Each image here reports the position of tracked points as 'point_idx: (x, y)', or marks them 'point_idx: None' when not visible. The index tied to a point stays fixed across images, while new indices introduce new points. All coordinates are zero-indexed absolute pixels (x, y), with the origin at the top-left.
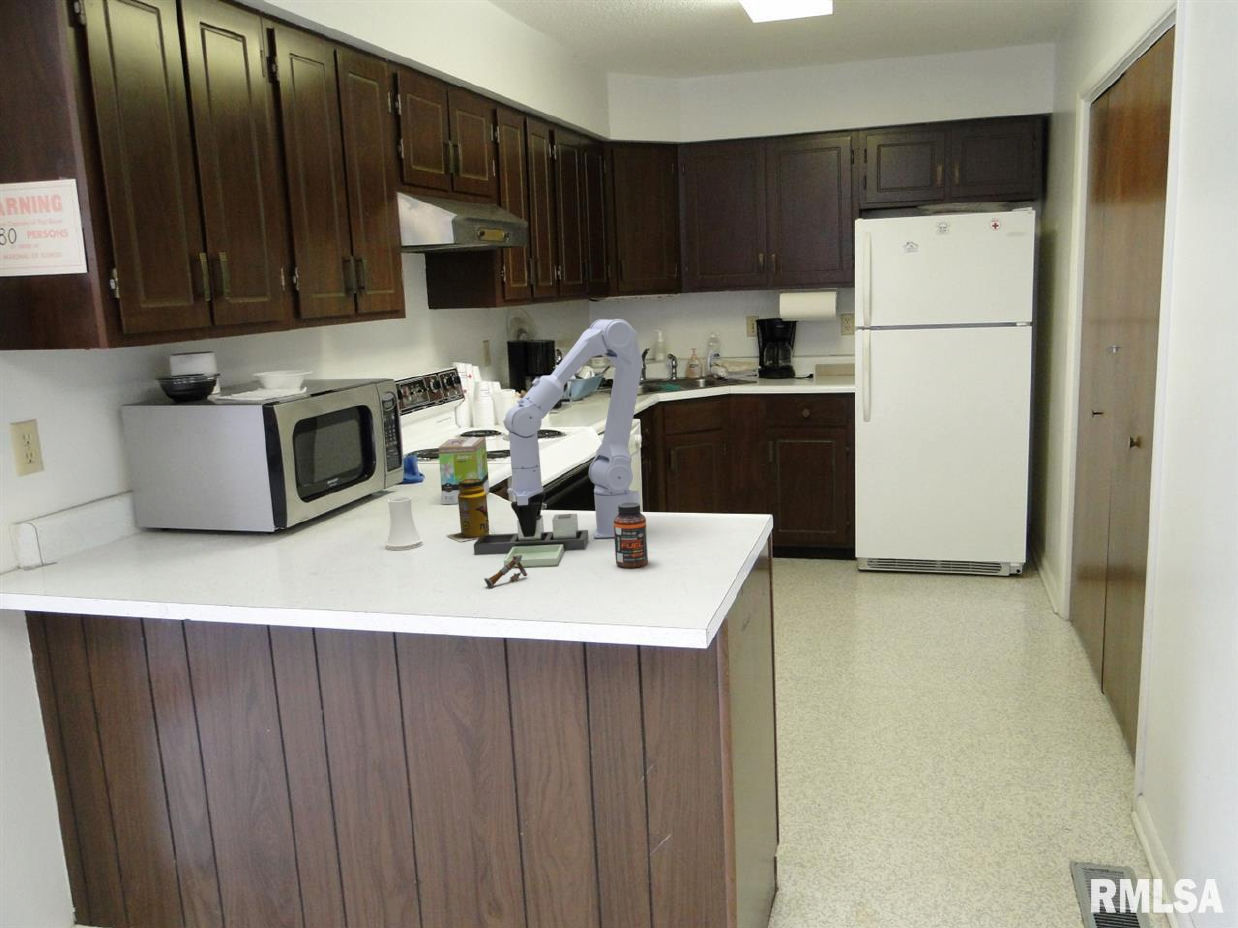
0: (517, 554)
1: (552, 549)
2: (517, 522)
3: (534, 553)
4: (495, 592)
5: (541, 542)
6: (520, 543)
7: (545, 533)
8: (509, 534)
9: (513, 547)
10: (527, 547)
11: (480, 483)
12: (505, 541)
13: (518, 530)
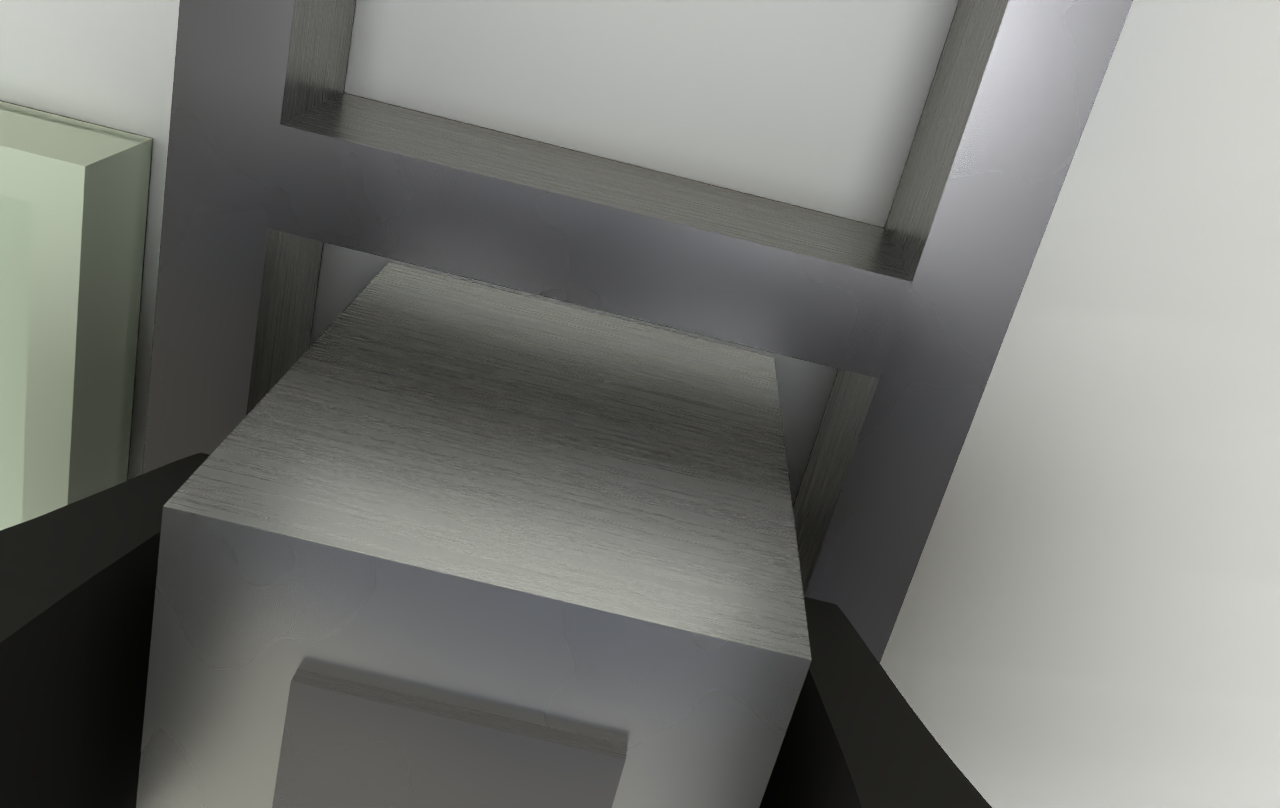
0: (2, 205)
1: None
2: (169, 499)
3: (8, 471)
4: None
5: None
6: (156, 331)
7: None
8: (977, 176)
9: (22, 174)
10: (29, 417)
11: None
12: (960, 51)
13: (256, 414)
